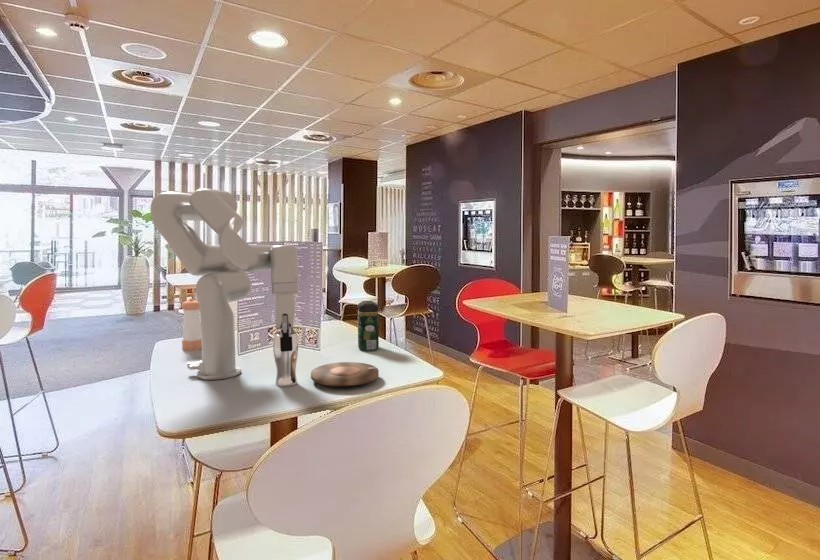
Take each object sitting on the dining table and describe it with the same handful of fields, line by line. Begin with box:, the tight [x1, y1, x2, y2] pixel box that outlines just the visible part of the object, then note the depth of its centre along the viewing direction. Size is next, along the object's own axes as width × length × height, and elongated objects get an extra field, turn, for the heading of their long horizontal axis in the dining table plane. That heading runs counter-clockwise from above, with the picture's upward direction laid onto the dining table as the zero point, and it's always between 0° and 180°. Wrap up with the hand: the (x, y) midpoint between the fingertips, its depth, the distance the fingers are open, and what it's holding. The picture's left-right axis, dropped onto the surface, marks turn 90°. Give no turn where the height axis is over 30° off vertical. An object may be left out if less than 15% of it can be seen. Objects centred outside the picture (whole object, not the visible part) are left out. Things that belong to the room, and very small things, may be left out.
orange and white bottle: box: [180, 298, 202, 351], centre depth 172 cm, size 7×7×19 cm
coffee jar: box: [357, 300, 380, 352], centre depth 173 cm, size 10×8×19 cm
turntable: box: [310, 361, 380, 386], centre depth 135 cm, size 20×20×2 cm
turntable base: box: [322, 383, 367, 389], centre depth 135 cm, size 14×14×2 cm
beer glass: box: [272, 330, 299, 388], centre depth 131 cm, size 7×7×15 cm
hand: (287, 347), depth 130 cm, fingers open, 9 cm apart
